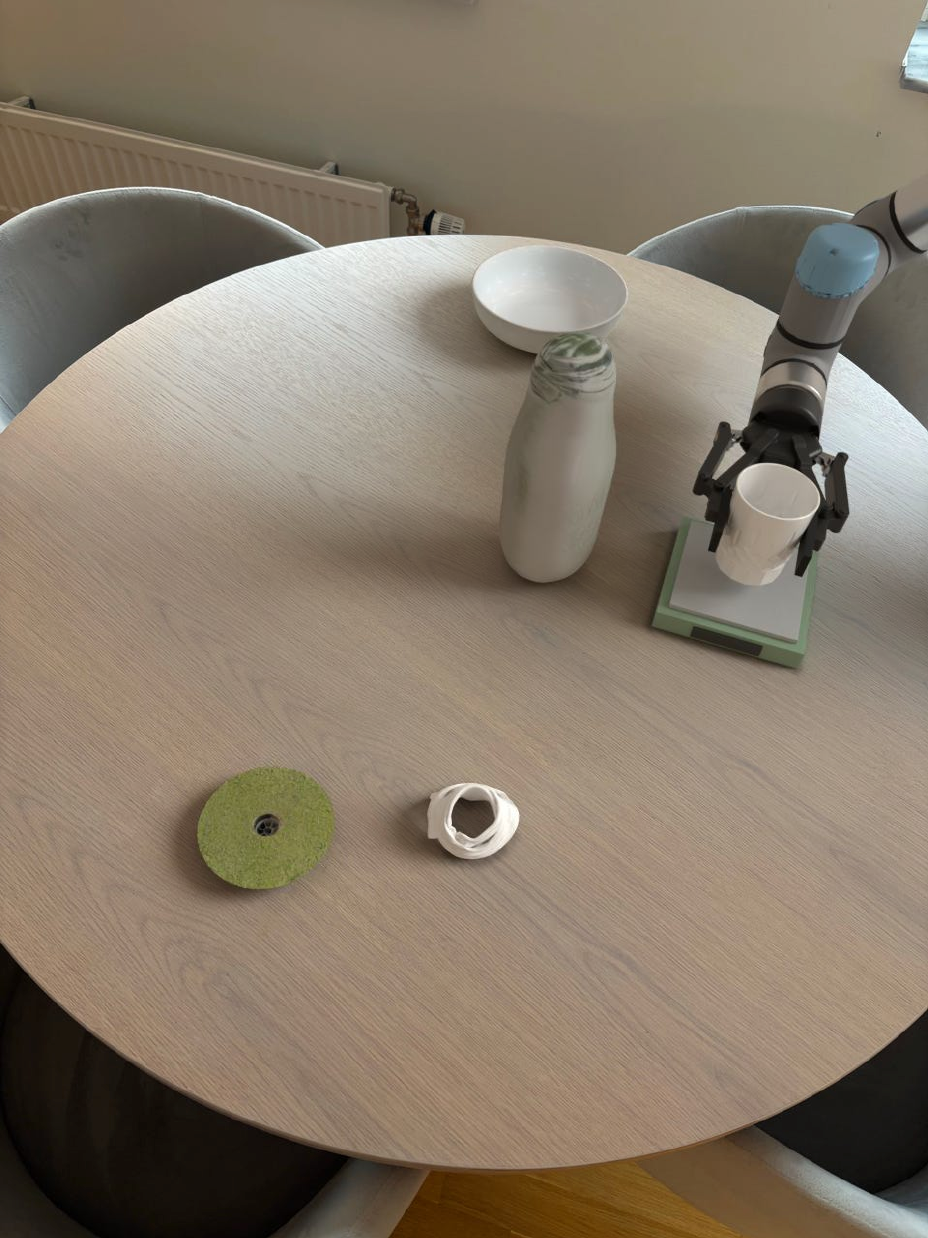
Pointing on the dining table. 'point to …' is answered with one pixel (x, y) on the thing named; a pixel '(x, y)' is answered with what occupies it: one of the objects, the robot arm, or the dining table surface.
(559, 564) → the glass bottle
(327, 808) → the green abrasive disc
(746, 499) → the white cup
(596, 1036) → the dining table surface
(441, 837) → the white rolled strap
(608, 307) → the serving bowl
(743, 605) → the kitchen scale
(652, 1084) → the dining table surface
